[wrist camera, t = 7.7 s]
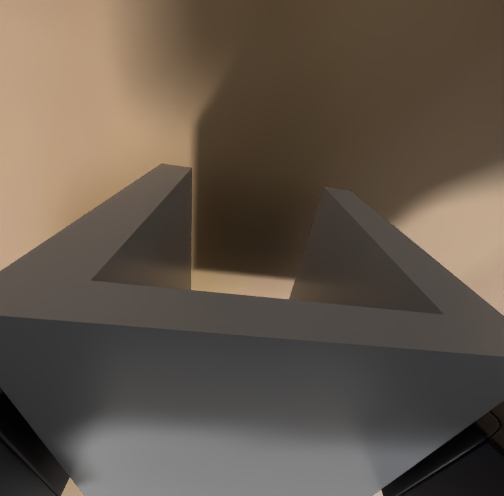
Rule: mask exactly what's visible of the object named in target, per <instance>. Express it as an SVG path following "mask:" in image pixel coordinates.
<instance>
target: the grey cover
mask: <svg viewBox="0 0 504 496" xmlns="http://www.w3.org/2000/svg"><path fill="white" fill-rule="evenodd" d="M191 225H192V168H189V167H182V166H175V165H168V164H160V165H159V166H157V167H156V168H154V169H153V170H151V171H150V172H148V173H147V174H145V175H144V176H142V177H141V178H139V179H138V180H136V181H135V182H133V183H132V184H130V185H129V186H127V187H126V188H124V189H123V190H121V191H120V192H118V193H117V194H115V195H114V196H112V197H111V198H109V199H108V200H106V201H105V202H103V203H102V204H100V205H99V206H97V207H96V208H94V209H93V210H91V211H90V212H88V213H87V214H85V215H84V216H82V217H81V218H79V219H78V220H76V221H75V222H73V223H72V224H70V225H69V226H67V227H66V228H64V229H63V230H61V231H60V232H58V233H57V234H55V235H54V236H52V237H51V238H49V239H48V240H46V241H45V242H43V243H42V244H40V245H39V246H37V247H36V248H34V249H33V250H31V251H30V252H28V253H27V254H25V255H24V256H22V257H21V258H19V259H18V260H16V261H15V262H13V263H12V264H10V265H9V266H7V267H6V268H4V269H3V270H1V271H0V387H1V389H2V390H3V391H4V393H5V394H6V395H7V396H8V398H9V399H10V400H11V402H12V403H13V404H14V405H15V407H16V408H17V409H18V411H19V412H20V413H21V415H22V416H23V417H24V418H25V420H26V421H27V422H28V424H29V425H30V426H31V427H32V429H33V430H34V431H35V433H36V434H37V435H38V436H39V438H40V439H41V440H42V442H43V443H44V444H45V445H46V447H47V448H48V449H49V451H50V452H51V453H52V454H53V456H54V457H55V458H56V460H57V461H58V462H59V464H60V465H61V466H62V467H63V469H64V470H65V471H66V473H67V474H68V475H69V476H70V478H71V479H72V480H73V481H74V483H75V484H76V485H77V487H78V488H79V489H80V491H81V492H82V493H83V494H84V496H373V495H374V494H375V493H377V492H378V491H379V490H381V489H382V488H384V487H385V486H386V485H388V484H389V483H391V482H392V481H393V480H395V479H396V478H397V477H399V476H400V475H402V474H403V473H404V472H406V471H407V470H409V469H410V468H411V467H413V466H414V465H415V464H417V463H418V462H420V461H421V460H422V459H424V458H425V457H426V456H428V455H429V454H431V453H432V452H433V451H435V450H436V449H438V448H439V447H440V446H442V445H443V444H444V443H446V442H447V441H449V440H450V439H451V438H453V437H454V436H456V435H457V434H458V433H460V432H461V431H462V430H464V429H465V428H467V427H468V426H469V425H471V424H472V423H473V422H475V421H476V420H478V419H479V418H480V417H482V416H483V415H485V414H486V413H487V412H489V411H490V410H491V409H493V408H494V407H496V406H497V405H498V404H500V403H501V402H503V401H504V316H503V315H502V314H501V313H499V312H498V311H497V310H496V309H495V308H493V307H492V306H491V305H490V304H488V303H487V302H486V301H485V300H484V299H482V298H481V297H480V296H479V295H478V294H476V293H475V292H474V291H473V290H471V289H470V288H469V287H468V286H467V285H465V284H464V283H463V282H462V281H460V280H459V279H458V278H457V277H456V276H454V275H453V274H452V273H451V272H450V271H448V270H447V269H446V268H445V267H443V266H442V265H441V264H440V263H439V262H437V261H436V260H435V259H434V258H432V257H431V256H430V255H429V254H428V253H426V252H425V251H424V250H423V249H421V248H420V247H419V246H418V245H417V244H415V243H414V242H413V241H412V240H411V239H409V238H408V237H407V236H406V235H404V234H403V233H402V232H401V231H400V230H398V229H397V228H396V227H395V226H393V225H392V224H391V223H390V222H389V221H387V220H386V219H385V218H384V217H383V216H381V215H380V214H379V213H378V212H376V211H375V210H374V209H373V208H372V207H370V206H369V205H368V204H367V203H365V202H364V201H363V200H362V199H361V198H359V197H358V196H357V195H356V194H355V193H353V192H352V191H351V190H344V189H337V188H330V187H324V188H323V191H322V194H321V197H320V201H319V204H318V207H317V210H316V214H315V217H314V220H313V223H312V227H311V230H310V233H309V236H308V240H307V243H306V246H305V249H304V253H303V256H302V259H301V262H300V266H299V269H298V272H297V275H296V279H295V282H294V285H293V288H292V292H291V295H290V298H289V300H288V299H277V298H267V297H256V296H246V295H236V294H225V293H215V292H205V291H194V290H191Z"/></svg>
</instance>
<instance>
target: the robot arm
mask: <svg viewBox="0 0 504 496" xmlns="http://www.w3.org/2000/svg"><path fill="white" fill-rule="evenodd" d="M69 478H70V476H69V475H68V474H67V473H66V471H65V470H64V469H63V467H62V466H61V465H60V464H59V462H58V461H57V460H56V458H55V457H54V456H53V454H52V453H51V452H50V451H49V449H48V448H47V447H46V445H45V444H44V443H43V442H42V440H41V439H40V438H39V436H38V435H37V434H36V433H35V431H34V430H33V429H32V427H31V426H30V425H29V424H28V422H27V421H26V420H25V418H24V417H23V416H22V415H21V413H20V412H19V411H18V409H17V408H16V407H15V405H14V404H13V403H12V402H11V400H10V399H9V398H8V396H7V395H6V394H5V393H4V391H3V390H2V389H1V387H0V496H61V494H62V492H63V490H64V488H65V486H66V484H67V482H68V480H69ZM381 490H382V493H383V496H504V401H503V402H501V403H500V404H498V405H497V406H496V407H494V408H493V409H491V410H490V411H489V412H487V413H486V414H485V415H483V416H482V417H480V418H479V419H478V420H476V421H475V422H473V423H472V424H471V425H469V426H468V427H467V428H465V429H464V430H462V431H461V432H460V433H458V434H457V435H456V436H454V437H453V438H451V439H450V440H449V441H447V442H446V443H444V444H443V445H442V446H440V447H439V448H438V449H436V450H435V451H433V452H432V453H431V454H429V455H428V456H426V457H425V458H424V459H422V460H421V461H420V462H418V463H417V464H415V465H414V466H413V467H411V468H410V469H409V470H407V471H406V472H404V473H403V474H402V475H400V476H399V477H397V478H396V479H395V480H393V481H392V482H391V483H389V484H388V485H386V486H385V487H384V488H382V489H381Z"/></svg>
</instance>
